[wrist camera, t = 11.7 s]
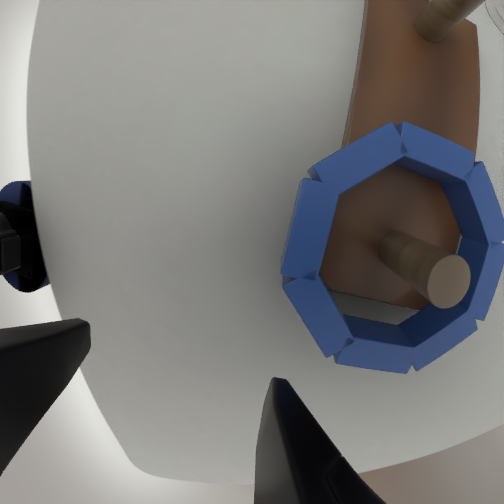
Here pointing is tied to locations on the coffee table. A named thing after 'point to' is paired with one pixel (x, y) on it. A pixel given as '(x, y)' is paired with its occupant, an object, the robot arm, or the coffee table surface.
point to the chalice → (496, 12)
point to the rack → (400, 179)
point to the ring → (471, 250)
